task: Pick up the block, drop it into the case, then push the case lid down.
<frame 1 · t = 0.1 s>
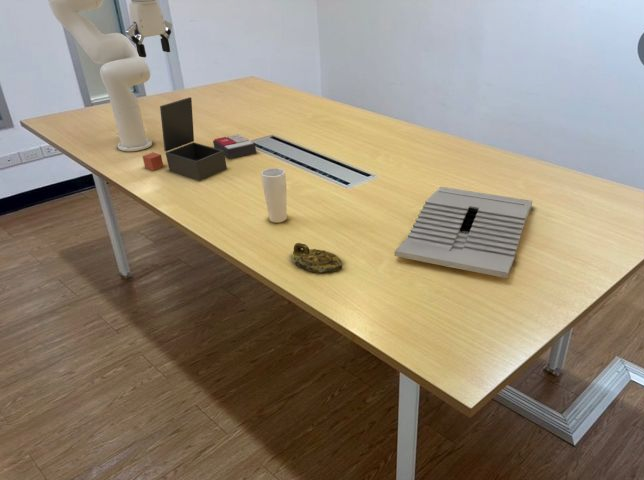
hand: (154, 54, 185), 37 cm above the table, tool pointing down, fingers open, 9 cm apart
case lid: (177, 124, 191), point 15 cm above the table, hinge at 80.0°
case: (198, 170, 196), on the table
drinking glass: (278, 219, 165), on the table
grey grooved board: (468, 232, 159), on the table
calculator: (235, 151, 213), on the table
block: (154, 167, 198), on the table
seal: (317, 263, 145), on the table
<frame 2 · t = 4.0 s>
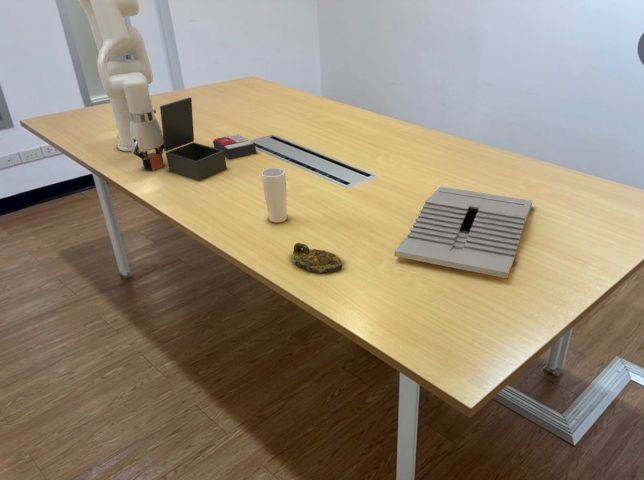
hand: (154, 166, 198), 0 cm above the table, tool pointing down, fingers closed on block, 4 cm apart
block: (154, 167, 198), on the table, touching gripper
everything else where it was.
when the fingers open (7 cm above the table, at t = 11.2 s): block drops 6 cm, resting on case.
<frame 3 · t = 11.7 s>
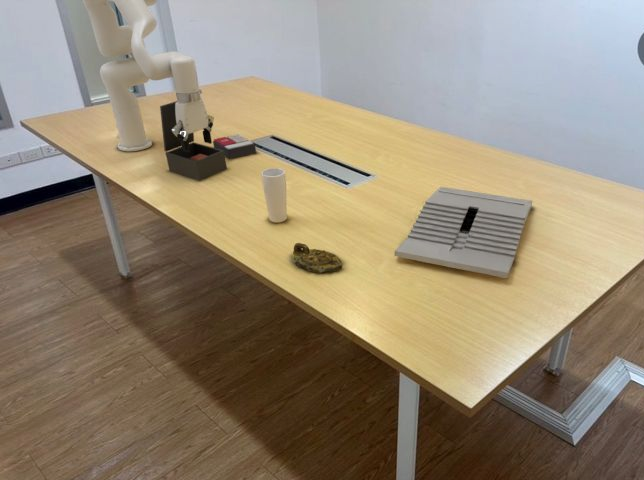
hand: (197, 146, 191), 9 cm above the table, tool pointing down, fingers open, 9 cm apart
block: (201, 169, 195), point 1 cm above the table, touching case
everything else where it was.
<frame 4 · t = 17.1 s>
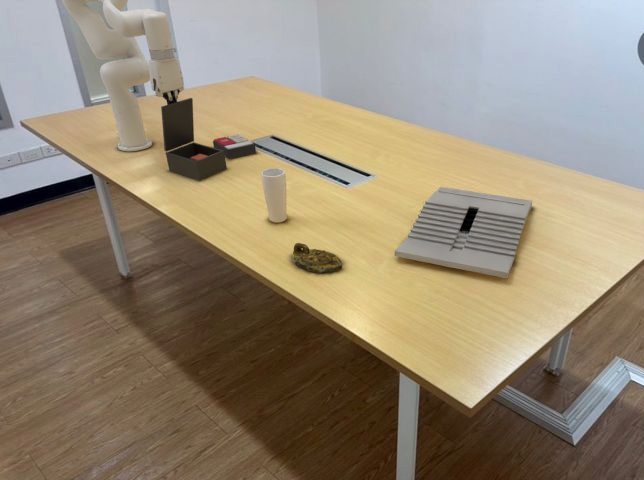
hand: (173, 111, 189), 20 cm above the table, tool pointing down, fingers closed
case lid: (178, 124, 191), point 15 cm above the table, hinge at 78.0°, touching gripper
everything else where it was.
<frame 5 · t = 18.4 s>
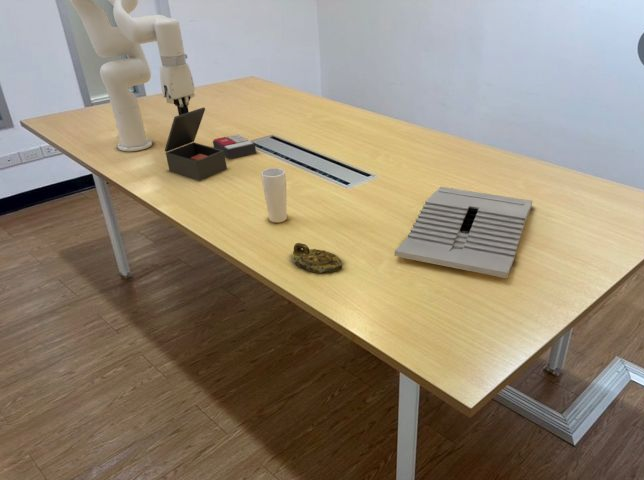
hand: (184, 117, 187), 18 cm above the table, tool pointing down, fingers closed
case lid: (184, 129, 190), point 14 cm above the table, hinge at 55.7°, touching gripper
everything else where it was.
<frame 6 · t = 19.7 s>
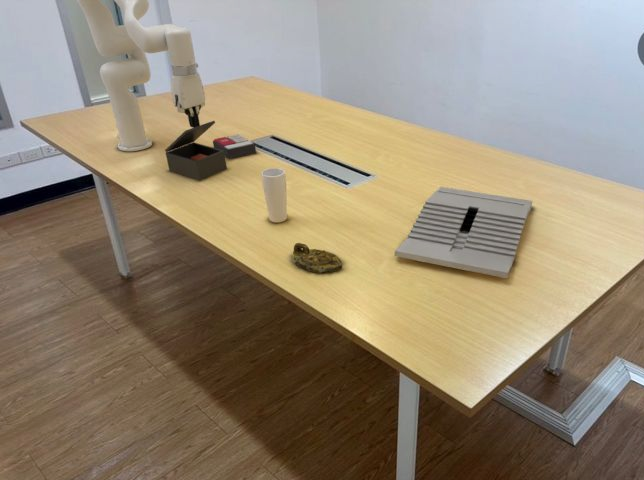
hand: (195, 126, 186), 16 cm above the table, tool pointing down, fingers closed
case lid: (189, 136, 190), point 12 cm above the table, hinge at 35.6°, touching gripper
everything else where it was.
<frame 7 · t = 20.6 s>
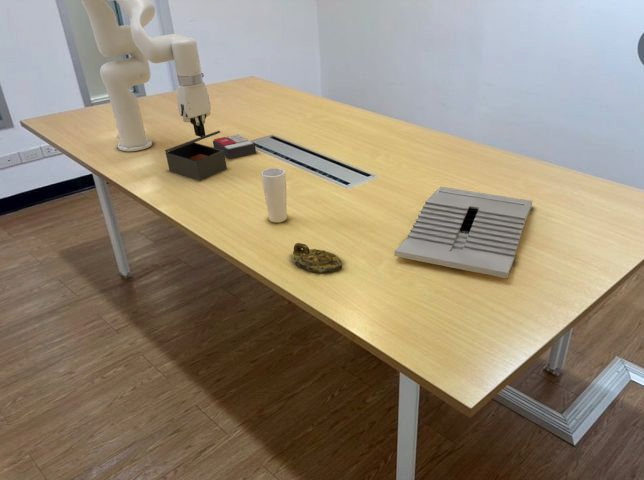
hand: (200, 135, 187), 13 cm above the table, tool pointing down, fingers closed
case lid: (192, 141, 191), point 10 cm above the table, hinge at 22.7°, touching gripper
everything else where it was.
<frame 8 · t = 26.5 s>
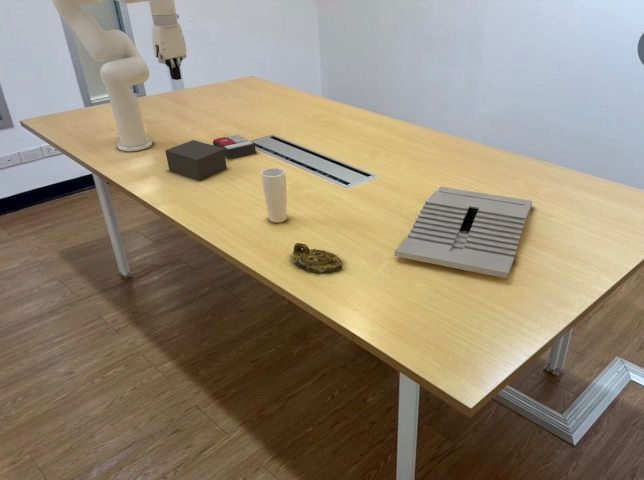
hand: (176, 79, 188), 29 cm above the table, tool pointing down, fingers closed
case lid: (195, 150, 192), point 7 cm above the table, hinge at 0.2°
everything else where it was.
at the end: block inside the target area in the case (2.0 cm from its centre), point 0.8 cm above the case's base; case lid at +0° (first picture: +80°) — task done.
